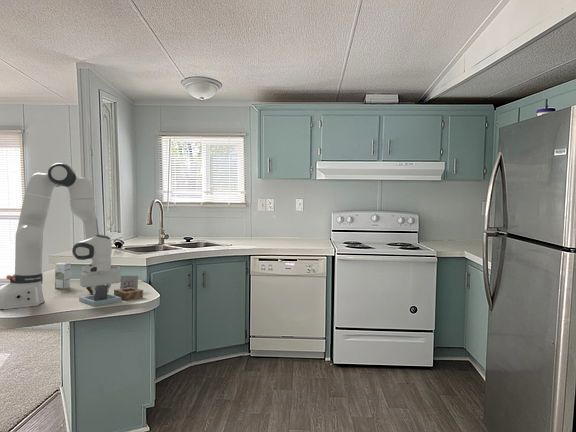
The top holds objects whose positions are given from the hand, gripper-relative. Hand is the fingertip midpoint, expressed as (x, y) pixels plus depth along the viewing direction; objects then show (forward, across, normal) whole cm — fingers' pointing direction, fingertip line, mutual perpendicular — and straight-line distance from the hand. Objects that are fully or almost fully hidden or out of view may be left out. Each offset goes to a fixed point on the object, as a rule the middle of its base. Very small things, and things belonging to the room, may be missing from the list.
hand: (100, 293), depth 207 cm
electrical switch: (+4, -23, -11) cm, 26 cm away
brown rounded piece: (+4, -7, -18) cm, 20 cm away
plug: (+4, 0, 0) cm, 4 cm away
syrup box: (+4, -1, -43) cm, 43 cm away
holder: (+4, -14, +2) cm, 15 cm away
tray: (+4, 0, 0) cm, 4 cm away
